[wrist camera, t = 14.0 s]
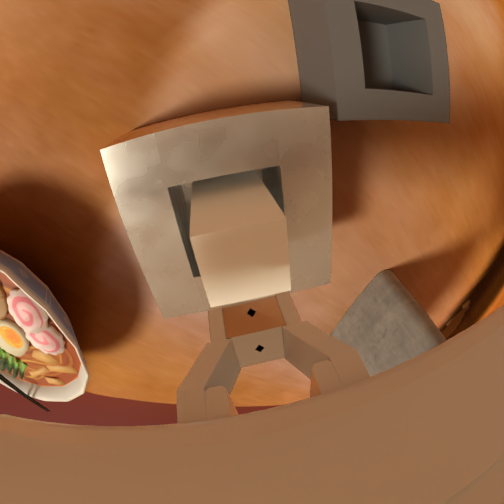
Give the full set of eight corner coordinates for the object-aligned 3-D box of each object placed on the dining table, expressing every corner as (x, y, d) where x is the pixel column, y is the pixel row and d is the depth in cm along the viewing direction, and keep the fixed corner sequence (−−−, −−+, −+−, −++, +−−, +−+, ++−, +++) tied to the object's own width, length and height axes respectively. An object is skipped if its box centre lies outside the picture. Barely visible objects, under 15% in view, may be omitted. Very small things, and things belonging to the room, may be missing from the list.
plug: (247, 159, 20) (286, 217, 11) (254, 207, 22) (290, 290, 14) (193, 170, 19) (189, 237, 11) (204, 218, 22) (210, 307, 13)
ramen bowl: (147, 337, 29) (142, 399, 22) (42, 372, 31) (31, 415, 24) (6, 148, 15) (-53, 181, 8) (-64, 254, 17) (-93, 291, 10)
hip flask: (333, 356, 38) (384, 475, 21) (311, 356, 36) (360, 485, 20) (397, 272, 31) (492, 401, 14) (375, 266, 29) (478, 411, 13)
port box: (289, 100, 19) (328, 106, 13) (300, 235, 25) (329, 283, 19) (130, 130, 18) (100, 149, 12) (169, 262, 24) (164, 318, 19)
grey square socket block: (393, 11, 14) (439, 3, 9) (403, 110, 20) (449, 123, 15) (287, -4, 14) (317, -30, 9) (303, 111, 19) (338, 120, 14)
